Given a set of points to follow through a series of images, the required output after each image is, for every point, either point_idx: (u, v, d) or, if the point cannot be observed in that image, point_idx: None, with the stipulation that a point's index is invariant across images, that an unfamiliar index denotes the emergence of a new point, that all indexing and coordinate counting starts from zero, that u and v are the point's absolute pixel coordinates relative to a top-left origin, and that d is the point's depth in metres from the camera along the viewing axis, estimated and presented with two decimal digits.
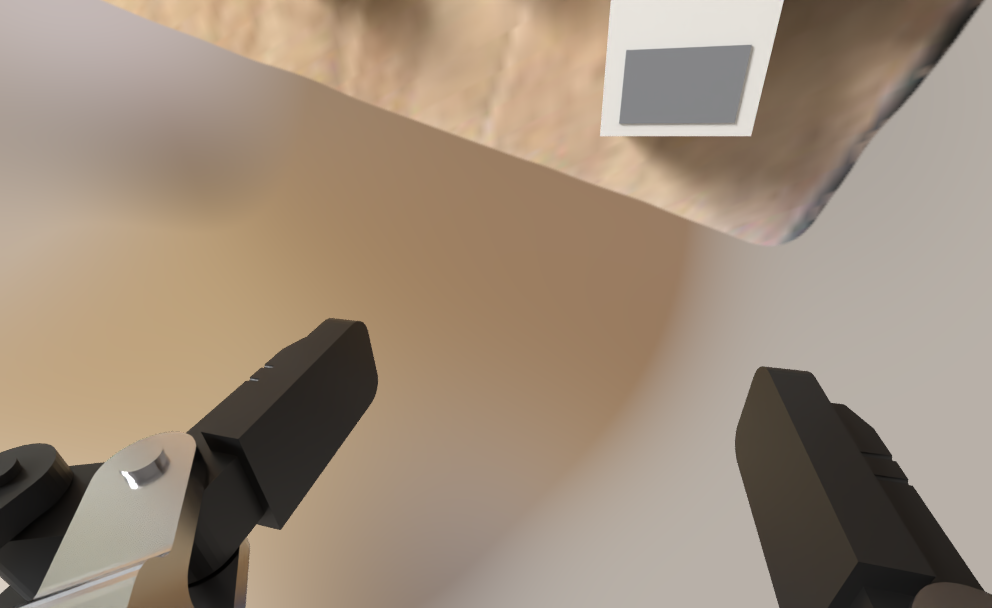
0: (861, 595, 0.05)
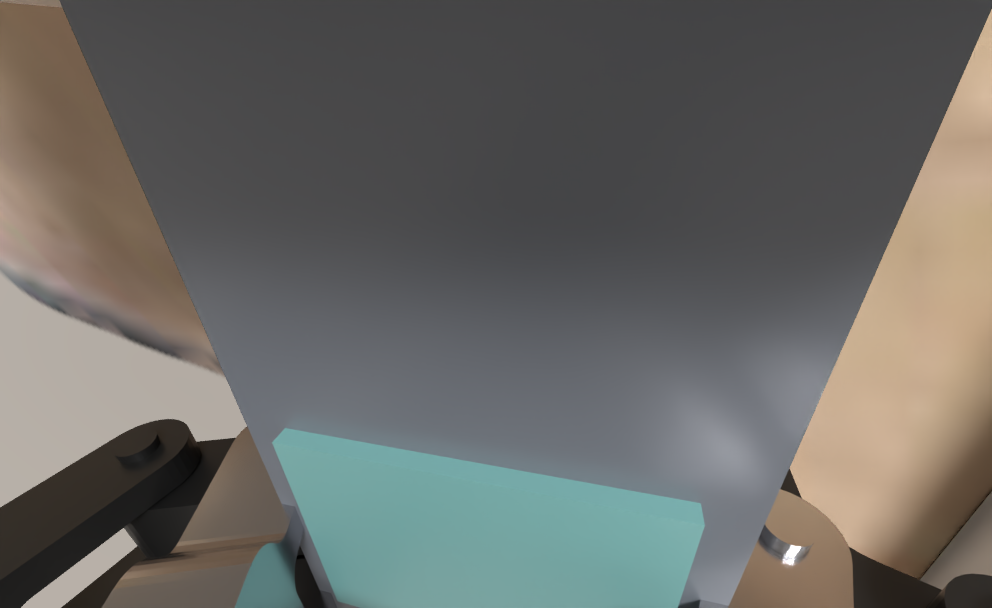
0: None
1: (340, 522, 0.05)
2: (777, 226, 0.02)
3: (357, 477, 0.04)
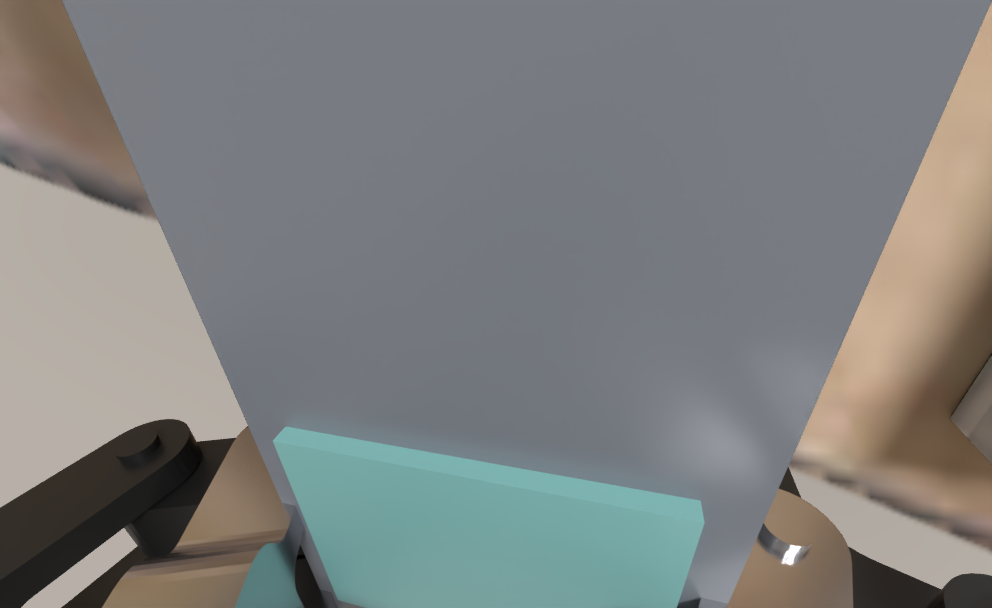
0: None
1: (340, 520, 0.05)
2: (776, 223, 0.02)
3: (357, 475, 0.04)
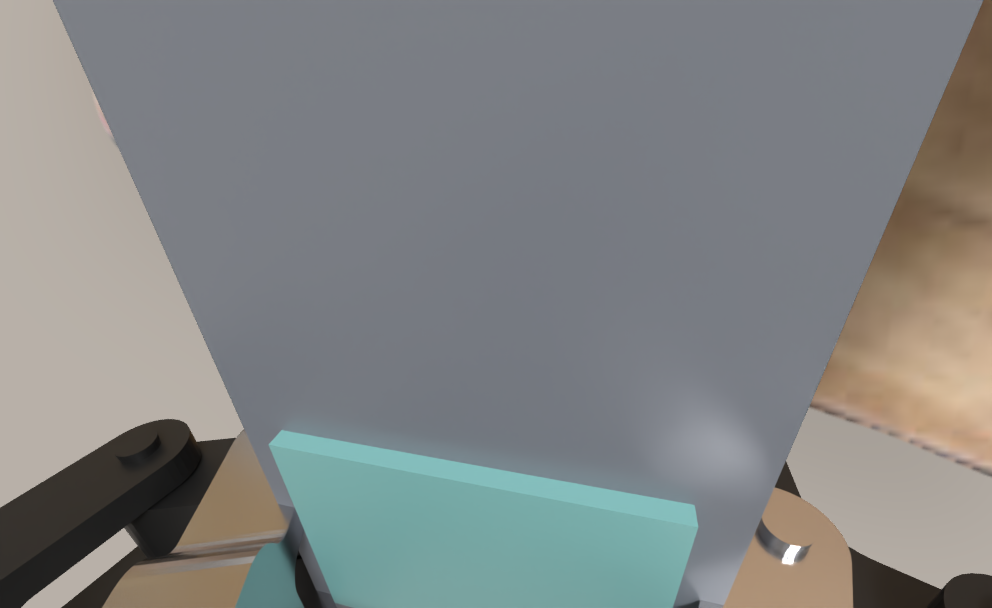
0: None
1: (337, 524, 0.05)
2: (767, 231, 0.02)
3: (354, 479, 0.04)
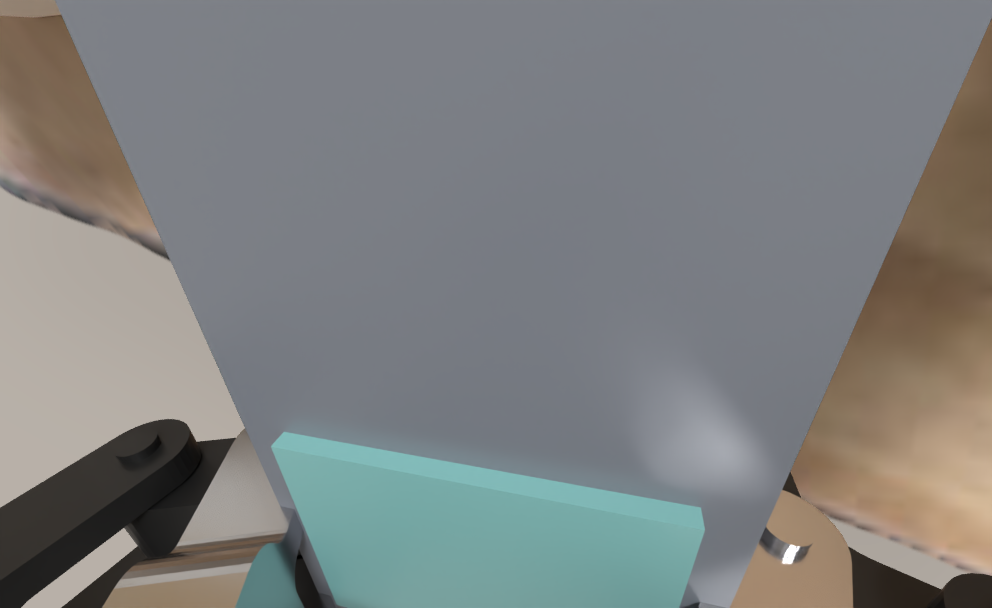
0: None
1: (339, 526, 0.05)
2: (778, 231, 0.02)
3: (356, 481, 0.04)
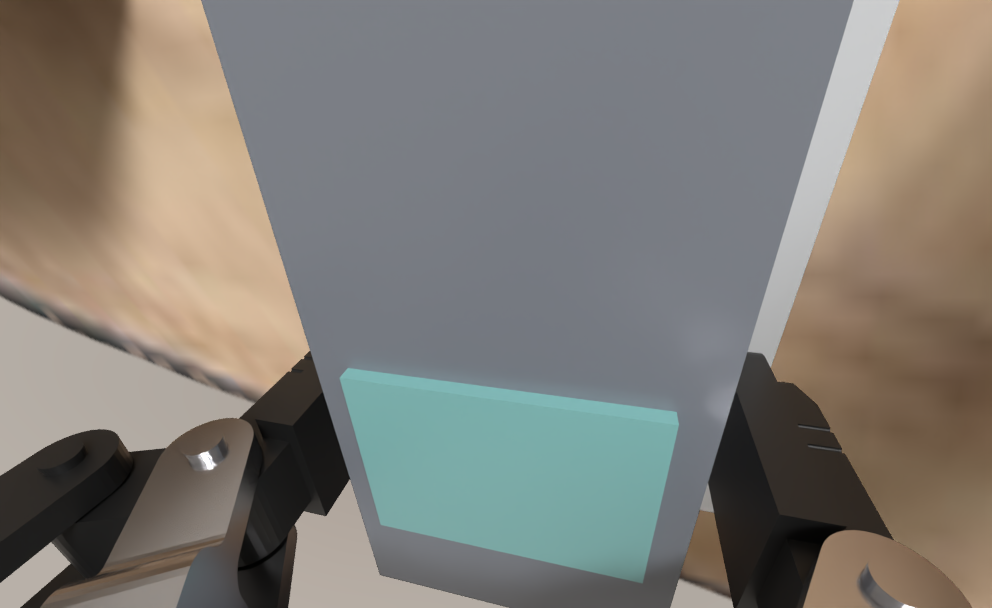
0: (786, 546, 0.05)
1: (390, 447, 0.06)
2: (719, 192, 0.03)
3: (408, 403, 0.05)
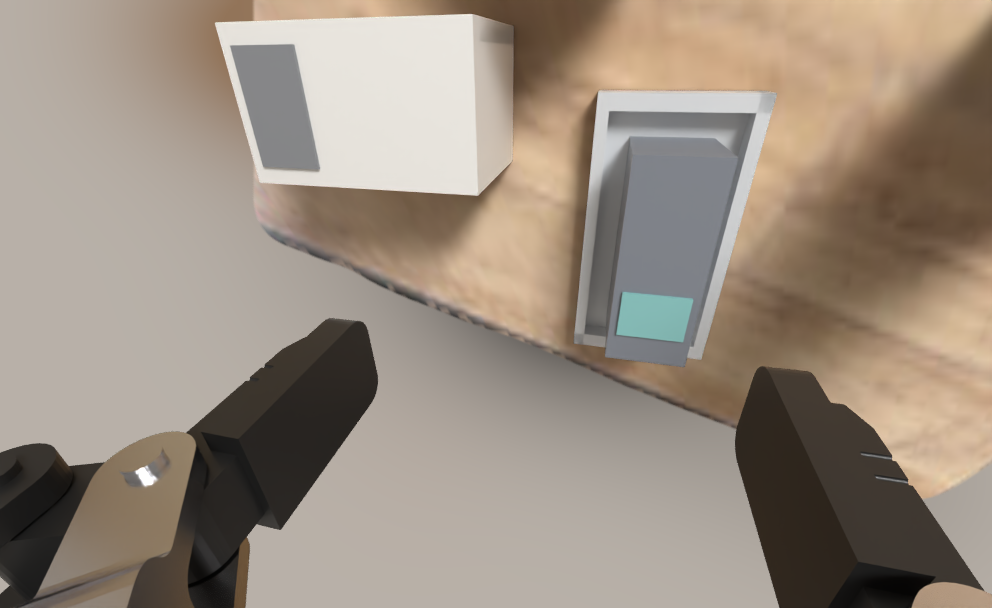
0: (862, 595, 0.05)
1: (628, 310, 0.26)
2: (701, 261, 0.24)
3: (637, 298, 0.26)
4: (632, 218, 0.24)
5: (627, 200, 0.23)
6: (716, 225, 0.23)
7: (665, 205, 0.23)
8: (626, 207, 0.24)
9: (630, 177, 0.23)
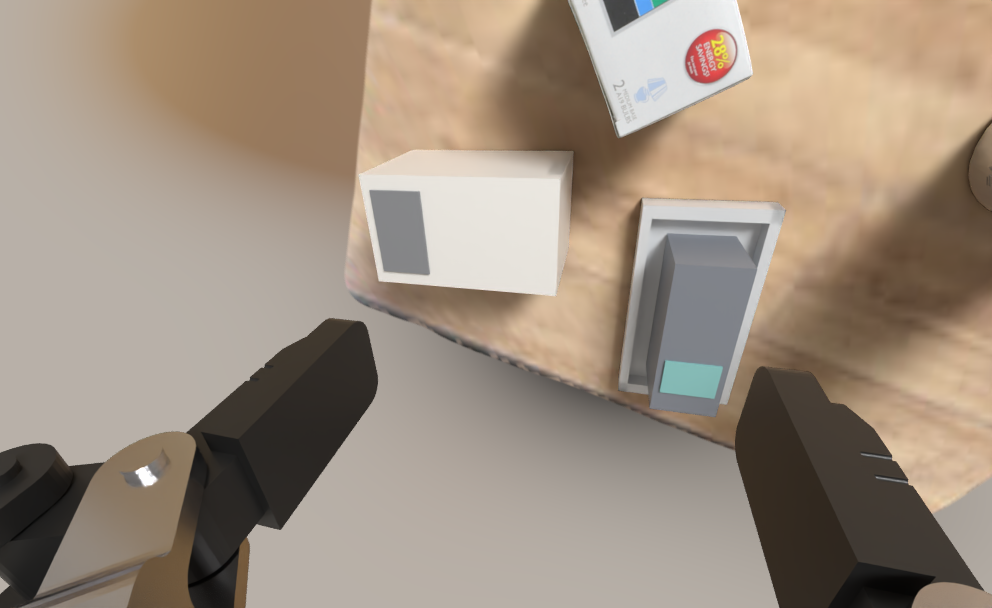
0: (861, 595, 0.05)
1: (670, 374, 0.33)
2: (728, 339, 0.31)
3: (677, 366, 0.33)
4: (674, 307, 0.31)
5: (670, 295, 0.30)
6: (740, 314, 0.30)
7: (700, 299, 0.30)
8: (669, 300, 0.30)
9: (673, 279, 0.30)
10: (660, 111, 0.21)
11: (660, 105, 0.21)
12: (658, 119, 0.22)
